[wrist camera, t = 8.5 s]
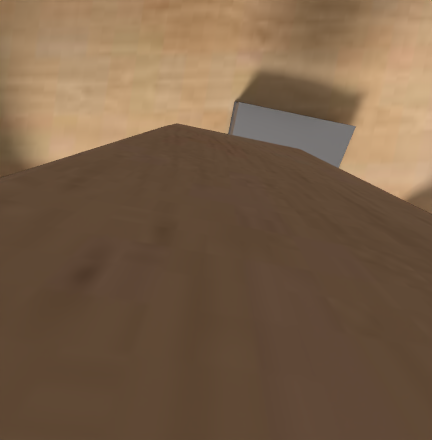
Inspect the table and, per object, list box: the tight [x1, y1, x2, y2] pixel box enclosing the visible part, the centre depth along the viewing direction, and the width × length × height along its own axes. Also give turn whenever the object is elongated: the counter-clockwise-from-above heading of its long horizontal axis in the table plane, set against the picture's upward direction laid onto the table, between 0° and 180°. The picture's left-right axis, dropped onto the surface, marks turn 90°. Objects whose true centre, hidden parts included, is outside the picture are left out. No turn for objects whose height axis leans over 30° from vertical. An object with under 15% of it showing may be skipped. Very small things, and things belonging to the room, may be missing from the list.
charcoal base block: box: [228, 102, 356, 168], centre depth 36 cm, size 16×16×6 cm
